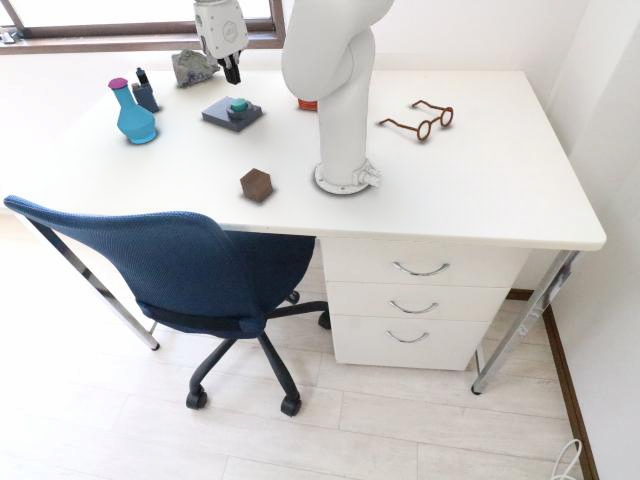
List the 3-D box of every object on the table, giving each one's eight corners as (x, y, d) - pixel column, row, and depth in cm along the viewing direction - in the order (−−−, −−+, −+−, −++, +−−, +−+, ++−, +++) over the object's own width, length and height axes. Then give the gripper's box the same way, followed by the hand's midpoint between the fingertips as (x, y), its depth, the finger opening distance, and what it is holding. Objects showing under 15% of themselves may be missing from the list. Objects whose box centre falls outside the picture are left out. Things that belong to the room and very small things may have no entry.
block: (273, 190, 81) (269, 174, 78) (259, 202, 79) (255, 186, 75) (257, 184, 83) (253, 167, 79) (244, 195, 80) (239, 179, 77)
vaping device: (160, 110, 107) (143, 69, 99) (142, 115, 106) (123, 73, 97) (160, 106, 109) (143, 65, 100) (141, 111, 108) (122, 69, 99)
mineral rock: (223, 74, 121) (215, 41, 114) (211, 90, 114) (202, 56, 107) (187, 73, 123) (176, 41, 116) (173, 88, 116) (161, 55, 109)
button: (250, 106, 99) (248, 100, 98) (240, 113, 97) (238, 107, 95) (239, 102, 101) (237, 96, 99) (228, 109, 98) (227, 103, 97)
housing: (263, 114, 103) (261, 101, 100) (239, 132, 97) (236, 118, 94) (228, 103, 108) (224, 90, 105) (203, 119, 103) (199, 106, 100)
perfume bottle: (150, 147, 95) (123, 91, 84) (118, 145, 97) (88, 89, 86) (166, 127, 101) (144, 72, 90) (136, 125, 103) (110, 71, 91)
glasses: (418, 145, 89) (421, 126, 85) (378, 124, 96) (379, 106, 92) (452, 124, 94) (457, 105, 90) (413, 105, 101) (415, 87, 97)
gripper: (193, 5, 68) (220, 100, 82) (252, -17, 75) (268, 73, 89) (169, -1, 71) (199, 91, 85) (227, -21, 79) (246, 67, 92)
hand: (234, 82), depth 87 cm, fingers closed
